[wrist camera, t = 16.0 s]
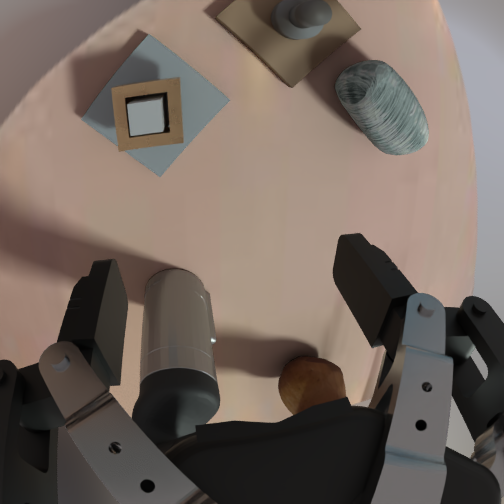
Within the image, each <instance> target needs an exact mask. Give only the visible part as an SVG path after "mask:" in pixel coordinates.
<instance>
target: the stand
mask: <svg viewBox="0 0 504 504" xmlns="http://www.w3.org/2000/svg"><path fill="white" fill-rule="evenodd" d="M215 19H216V20H217V21H219V22H220V23H221V24H222V25H223V26H225V27H226V28H227V29H228V30H229V31H230V32H232V33H233V34H234V35H235V36H236V37H237V38H238V39H239V40H241V41H242V42H243V43H244V44H245V45H246V46H247V47H248V48H249V49H250V50H252V51H253V52H254V53H255V54H256V55H257V56H258V57H259V58H260V59H261V60H262V61H263V62H264V63H265V64H266V65H267V66H268V67H269V68H270V69H271V70H272V71H274V72H275V73H276V74H277V75H278V76H279V77H280V78H281V80H282V81H283V82H284V83H285V84H286V85H287V86H288V87H291V88H293V87H294V86H295V85H296V84H297V83H298V82H299V81H301V80H302V79H303V78H304V77H305V76H306V75H307V74H308V73H309V72H311V71H312V70H313V69H314V68H315V67H316V66H317V65H319V64H320V63H321V62H322V61H323V60H324V59H326V58H327V57H328V56H329V55H330V54H331V53H333V52H334V51H335V50H336V49H337V48H338V47H340V46H341V45H342V44H343V43H345V42H346V41H347V40H348V39H349V38H351V37H352V36H353V35H354V34H356V33H357V32H358V31H359V30H361V28H360V27H359V26H358V25H357V23H356V22H355V21H354V20H353V18H352V17H351V16H350V15H349V14H348V12H347V11H346V10H345V9H344V8H343V7H342V6H341V4H340V3H339V2H338V1H337V0H235V1H234V2H233V3H231V4H230V5H229V6H228V7H227V8H225V9H224V10H223V11H222V12H221V13H220V14H219V15H217V16H216V18H215Z"/></svg>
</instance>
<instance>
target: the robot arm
mask: <svg viewBox="0 0 504 504" xmlns="http://www.w3.org/2000/svg"><path fill="white" fill-rule="evenodd" d="M333 278H334V282H335V284H336V286H337V288H338V289H339V291H340V293H341V295H342V296H343V298H344V300H345V301H346V303H347V305H348V307H349V308H350V310H351V312H352V314H353V315H354V317H355V319H356V321H357V322H358V324H359V326H360V328H361V329H362V331H363V333H364V335H365V337H366V338H367V340H368V342H369V344H370V346H371V347H372V348H374V347H378V346H382V345H384V347H385V349H386V350H385V352H384V354H383V358H382V362H381V367H380V371H379V375H378V379H377V383H376V387H375V390H374V394H373V397H372V400H371V402H370V404H369V407H362V406H351V404H350V402H349V400H348V397H344V398H341V399H337V400H333V401H329V402H325V403H322V404H317V405H313V406H311V407H309V408H307V409H305V410H303V411H301V412H299V413H297V414H295V415H293V416H291V417H289V418H287V419H284V420H282V421H280V422H276V423H265V422H246V421H228V422H220V423H212V424H206V423H207V422H208V421H209V420H210V419H211V418H212V417H213V416H214V415H215V414H216V412H217V411H218V409H219V406H220V394H219V388H218V382H217V376H216V370H215V364H214V357H213V350H212V344H214V343H215V342H216V333H215V326H214V319H213V313H212V306H211V299H210V294H209V293H208V292H206V291H205V289H204V285H203V283H202V282H201V280H200V279H199V278H198V277H197V276H196V275H194V274H192V273H190V272H188V271H185V270H180V269H170V270H164V271H162V272H159V273H157V274H156V275H154V276H153V277H152V278H151V279H150V280H149V281H148V283H147V286H146V290H145V297H144V298H145V300H144V311H143V324H142V340H141V360H140V394H139V397H138V399H137V401H136V403H135V406H134V408H133V413H132V419H131V417H130V416H129V415H128V414H127V413H126V411H125V410H124V409H123V408H122V406H121V405H120V404H119V403H118V401H117V400H116V399H115V398H114V396H113V395H112V394H111V393H109V388H110V386H117V385H120V383H121V369H122V357H123V347H124V337H125V328H126V320H127V312H128V300H127V294H126V291H125V288H124V284H123V281H122V278H121V275H120V271H119V268H118V265H117V262H116V260H115V259H107V260H99V261H94V262H93V265H92V268H91V271H90V274H89V276H85V277H82V278H81V279H80V280H79V281H78V283H77V284H76V285H75V286H74V288H73V291H72V294H71V297H70V300H69V303H68V306H67V310H66V312H65V316H64V319H63V322H62V326H61V329H60V333H59V336H58V340H57V343H54V344H52V345H50V346H49V347H48V348H47V349H46V350H45V351H44V352H43V353H42V355H41V357H40V360H39V363H36V364H33V365H30V366H27V367H24V368H21V369H17V368H16V366H15V365H14V364H13V363H12V362H11V361H9V360H0V504H58V494H57V442H58V427H61V426H64V425H65V426H66V429H67V431H68V432H69V434H70V436H71V437H72V439H73V440H74V442H75V443H76V445H77V447H78V448H79V450H80V451H81V453H82V454H83V456H84V457H85V459H86V460H87V462H88V463H89V465H90V466H91V467H92V469H93V470H94V472H95V473H96V474H97V476H98V477H99V478H100V480H101V481H102V482H103V483H104V485H105V486H106V488H107V489H108V490H109V491H110V493H111V494H112V495H113V496H114V498H115V499H116V500H117V501H118V502H119V504H501V498H502V497H503V496H504V323H503V322H502V321H501V319H500V318H499V317H498V315H497V314H496V313H495V311H494V310H493V309H492V307H491V306H490V305H489V304H488V303H487V302H486V301H484V300H483V299H481V298H479V297H475V296H469V297H466V298H465V299H464V300H463V302H462V304H461V306H460V308H455V307H444V306H443V305H442V303H441V302H440V301H439V300H438V299H436V298H435V297H433V296H431V295H429V294H425V293H418V292H417V291H416V290H415V289H414V287H413V286H412V285H411V284H410V282H409V281H408V280H407V279H406V277H405V276H404V275H403V274H402V272H401V271H400V270H398V269H397V266H396V265H395V264H394V263H393V262H392V260H391V259H390V258H389V257H388V256H387V254H386V253H385V252H384V251H382V250H381V249H379V248H378V247H376V246H374V245H370V243H369V242H368V241H367V240H366V239H365V237H364V236H363V235H362V234H360V233H355V234H345V235H341V236H340V237H339V239H338V244H337V250H336V255H335V260H334V266H333ZM475 348H476V349H477V351H478V352H479V354H480V355H481V357H482V358H483V360H484V362H485V363H486V365H487V367H488V376H487V379H486V380H484V378H483V376H482V374H481V373H480V371H479V370H478V368H477V366H476V364H475V363H474V361H473V360H472V358H471V356H470V355H471V354H472V352H473V351H474V349H475ZM451 396H452V397H453V399H454V401H455V403H456V405H457V406H458V409H459V411H460V413H461V415H462V417H463V419H464V421H465V423H466V425H467V427H468V429H469V431H470V433H471V436H472V438H473V440H474V442H475V446H474V452H473V453H472V455H471V459H470V458H468V457H466V456H464V455H462V454H460V453H458V452H456V451H454V450H452V449H450V448H448V447H446V440H447V433H448V425H449V417H450V407H451Z"/></svg>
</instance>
